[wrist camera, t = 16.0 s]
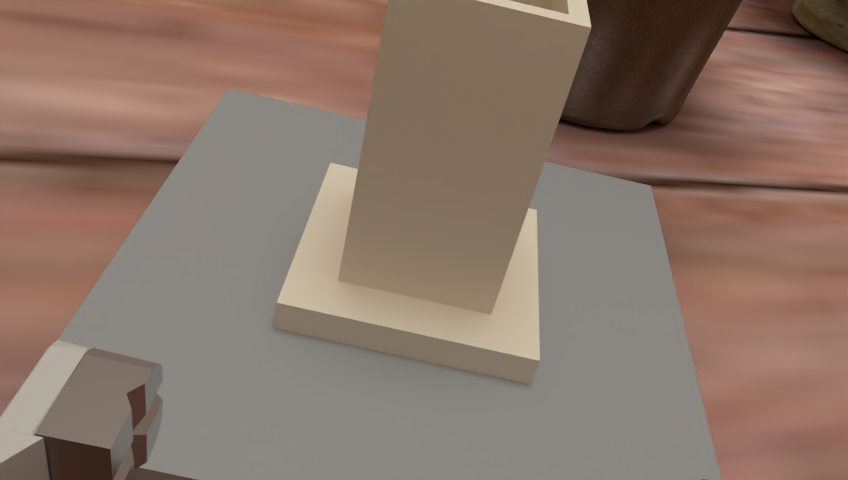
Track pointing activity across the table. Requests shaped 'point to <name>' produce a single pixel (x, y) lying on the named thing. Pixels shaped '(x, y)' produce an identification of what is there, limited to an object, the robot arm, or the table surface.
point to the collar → (443, 189)
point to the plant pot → (643, 59)
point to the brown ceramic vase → (824, 19)
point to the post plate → (377, 371)
